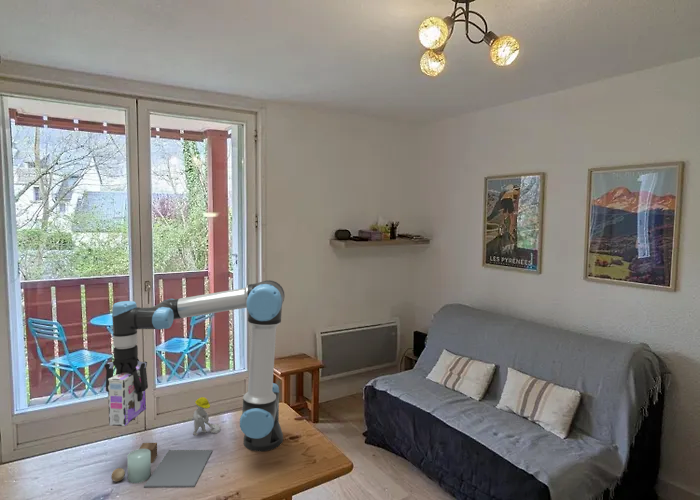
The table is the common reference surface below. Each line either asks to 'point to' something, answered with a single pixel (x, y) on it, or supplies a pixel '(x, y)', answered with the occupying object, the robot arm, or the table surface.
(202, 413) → the figurine
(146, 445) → the walnut block
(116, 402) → the candy box
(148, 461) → the pale green rounded cylinder
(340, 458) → the table surface
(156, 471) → the felt mat
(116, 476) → the cork ball
